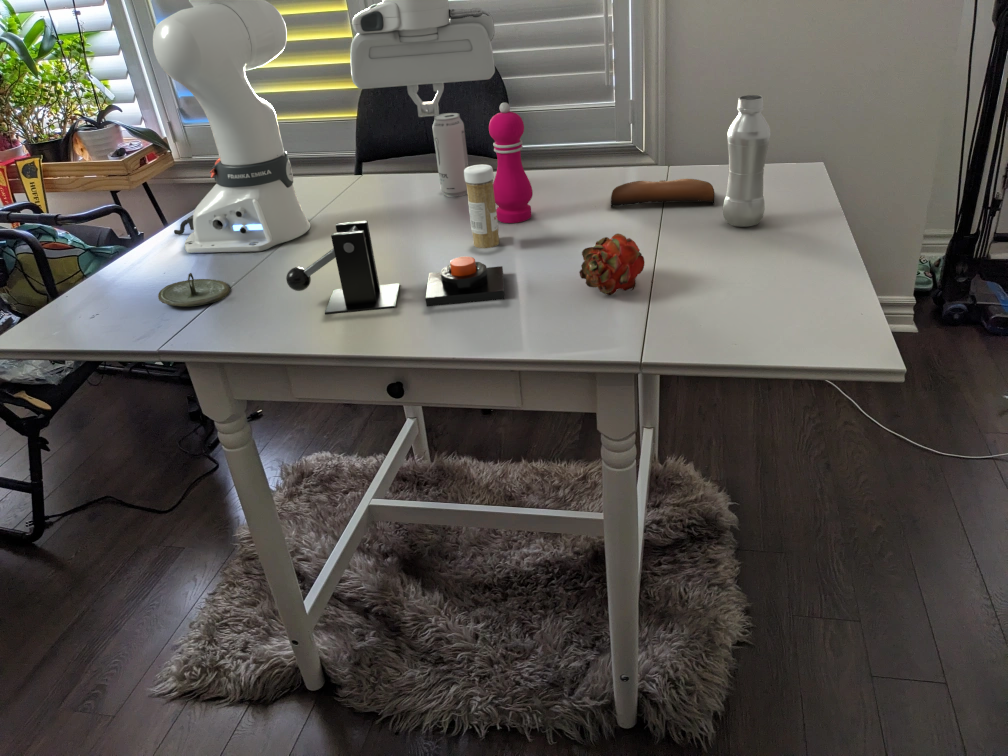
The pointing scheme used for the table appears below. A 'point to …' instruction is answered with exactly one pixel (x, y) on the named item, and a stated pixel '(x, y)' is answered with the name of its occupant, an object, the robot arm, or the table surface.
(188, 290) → the metal shank button
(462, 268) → the button
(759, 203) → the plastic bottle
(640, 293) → the table surface
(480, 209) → the spice jar
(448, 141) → the energy drink can
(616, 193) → the sunglasses case
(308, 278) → the lever
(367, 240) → the switch bracket
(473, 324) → the table surface
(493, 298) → the button block
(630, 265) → the dragon fruit
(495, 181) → the pepper mill
